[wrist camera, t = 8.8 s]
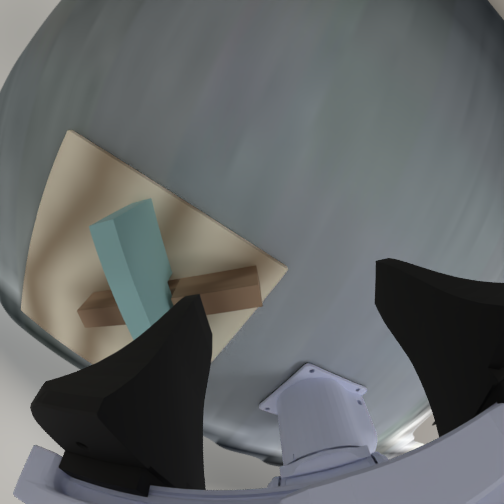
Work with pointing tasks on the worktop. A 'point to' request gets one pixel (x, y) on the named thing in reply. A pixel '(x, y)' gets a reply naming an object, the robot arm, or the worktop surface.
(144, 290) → the teal bar
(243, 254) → the ash board
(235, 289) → the brown notched bar
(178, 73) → the worktop surface
